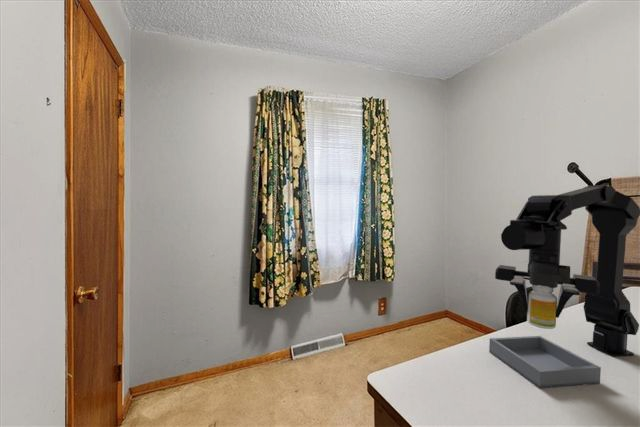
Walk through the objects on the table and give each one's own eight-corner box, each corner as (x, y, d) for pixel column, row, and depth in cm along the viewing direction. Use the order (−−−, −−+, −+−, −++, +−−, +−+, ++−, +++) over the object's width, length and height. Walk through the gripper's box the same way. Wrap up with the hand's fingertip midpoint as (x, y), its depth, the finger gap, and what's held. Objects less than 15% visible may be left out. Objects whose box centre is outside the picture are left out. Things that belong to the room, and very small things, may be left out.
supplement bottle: (561, 330, 64) (563, 288, 64) (534, 328, 65) (536, 286, 65) (547, 321, 69) (549, 281, 69) (522, 319, 70) (524, 280, 70)
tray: (539, 349, 75) (539, 335, 75) (599, 383, 61) (600, 367, 61) (489, 351, 74) (489, 338, 73) (539, 388, 59) (540, 371, 59)
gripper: (493, 248, 66) (490, 314, 66) (606, 259, 54) (602, 338, 55) (499, 243, 75) (496, 301, 75) (597, 251, 63) (593, 320, 64)
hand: (541, 314), depth 67 cm, fingers closed on supplement bottle, 5 cm apart
